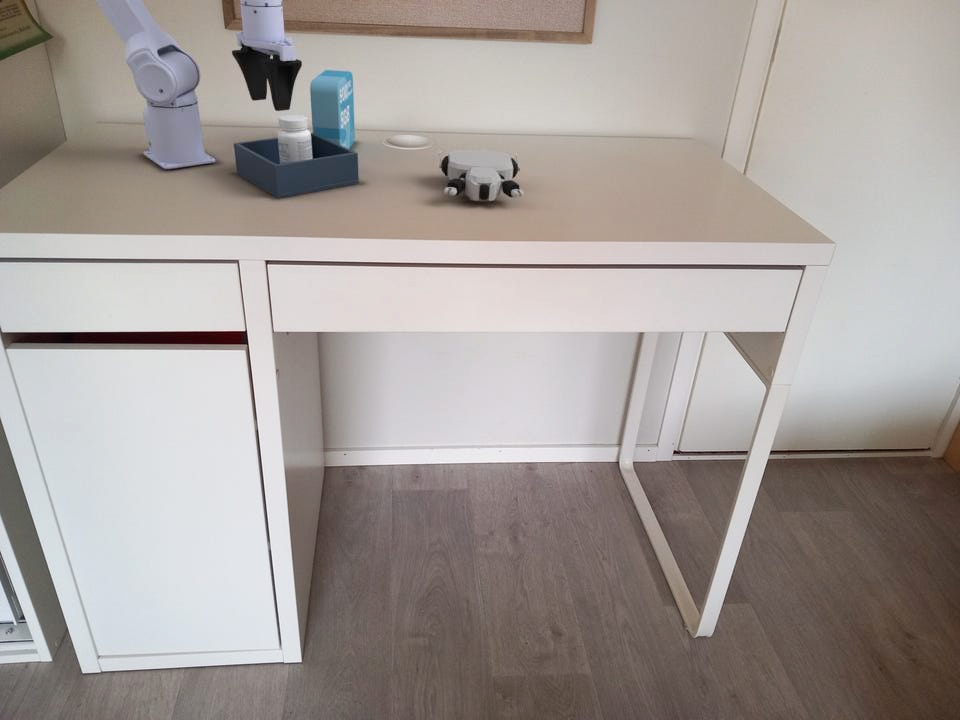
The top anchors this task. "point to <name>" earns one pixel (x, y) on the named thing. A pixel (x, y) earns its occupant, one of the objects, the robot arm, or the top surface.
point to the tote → (296, 167)
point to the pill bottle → (294, 139)
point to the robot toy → (480, 174)
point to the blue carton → (333, 107)
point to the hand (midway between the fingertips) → (270, 104)
